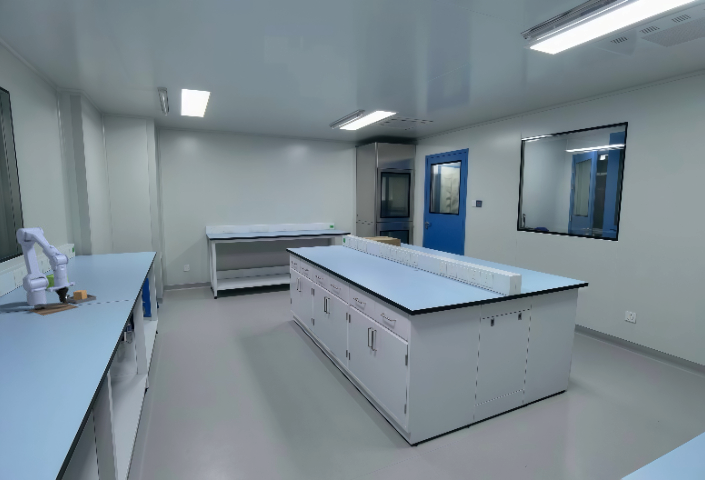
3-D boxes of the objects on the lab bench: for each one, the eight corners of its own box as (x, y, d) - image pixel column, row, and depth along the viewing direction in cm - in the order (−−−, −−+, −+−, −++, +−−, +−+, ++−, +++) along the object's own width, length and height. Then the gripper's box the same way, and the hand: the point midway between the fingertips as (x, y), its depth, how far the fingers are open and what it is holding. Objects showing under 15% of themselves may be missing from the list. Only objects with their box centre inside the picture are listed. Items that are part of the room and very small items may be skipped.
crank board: (27, 312, 194) (27, 310, 194) (63, 304, 208) (62, 302, 208) (43, 317, 186) (43, 315, 186) (79, 308, 200) (79, 306, 200)
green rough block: (38, 290, 241) (35, 276, 240) (54, 285, 250) (52, 272, 249) (56, 291, 235) (54, 277, 234) (72, 287, 244) (70, 273, 243)
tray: (66, 302, 211) (65, 297, 210) (85, 298, 219) (85, 293, 219) (76, 305, 205) (76, 300, 204) (96, 301, 213) (95, 296, 213)
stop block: (74, 302, 209) (73, 292, 208) (79, 300, 214) (78, 290, 213) (82, 302, 210) (81, 292, 209) (87, 299, 214) (86, 289, 213)
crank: (33, 310, 194) (31, 298, 193) (36, 307, 198) (35, 296, 197) (69, 307, 199) (68, 295, 198) (72, 304, 203) (71, 293, 202)
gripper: (54, 280, 188) (57, 306, 190) (78, 274, 203) (81, 298, 204) (42, 280, 189) (45, 305, 191) (67, 274, 204) (69, 297, 205)
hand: (63, 301), depth 198 cm, fingers closed, pressing on crank
